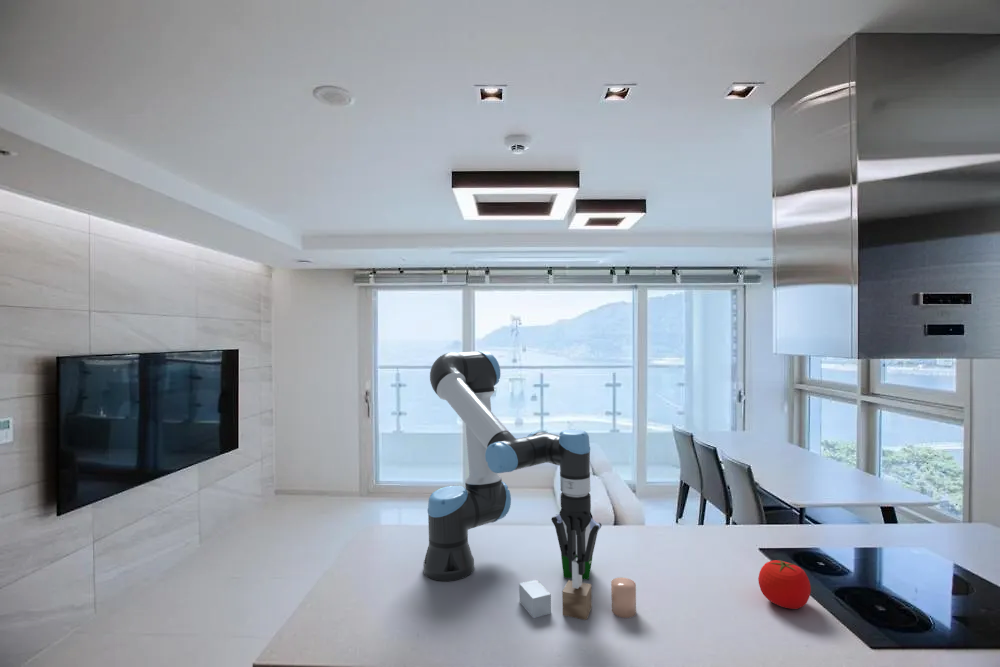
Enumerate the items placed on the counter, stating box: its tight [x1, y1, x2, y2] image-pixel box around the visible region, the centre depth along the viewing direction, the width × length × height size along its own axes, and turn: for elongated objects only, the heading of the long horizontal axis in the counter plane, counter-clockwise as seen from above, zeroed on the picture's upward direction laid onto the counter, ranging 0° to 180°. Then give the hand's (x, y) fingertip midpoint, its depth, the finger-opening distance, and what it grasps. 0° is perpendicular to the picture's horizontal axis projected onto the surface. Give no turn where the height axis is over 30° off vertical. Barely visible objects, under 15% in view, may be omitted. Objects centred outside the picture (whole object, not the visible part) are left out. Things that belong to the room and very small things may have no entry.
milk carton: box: [560, 521, 593, 581], centre depth 145 cm, size 9×9×20 cm
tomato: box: [757, 559, 812, 610], centre depth 128 cm, size 11×12×10 cm
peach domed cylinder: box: [610, 577, 637, 619], centre depth 126 cm, size 6×6×7 cm
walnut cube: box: [561, 579, 593, 621], centre depth 126 cm, size 6×6×6 cm
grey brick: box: [518, 579, 552, 619], centre depth 128 cm, size 8×5×5 cm, turn 23°
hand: (577, 585), depth 126 cm, fingers closed
